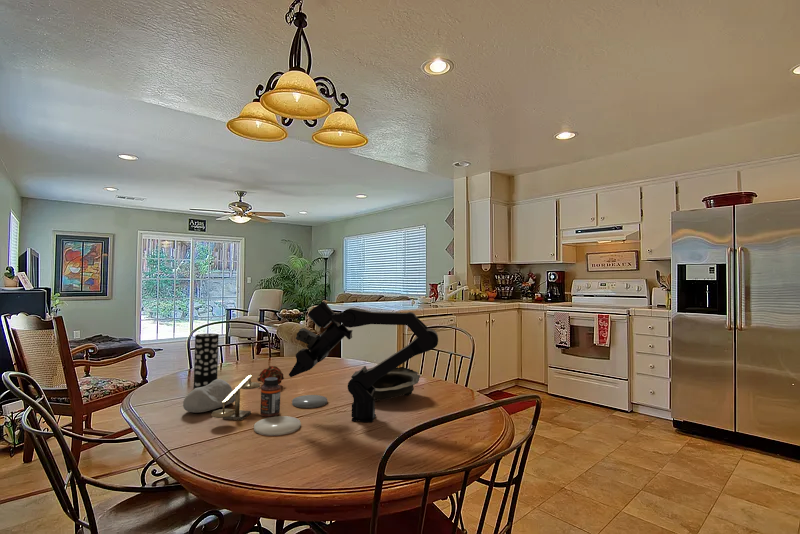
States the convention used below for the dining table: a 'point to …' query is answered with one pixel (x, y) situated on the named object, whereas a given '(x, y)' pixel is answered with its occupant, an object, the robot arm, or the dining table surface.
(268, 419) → the cream dish
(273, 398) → the supplement bottle
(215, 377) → the white-spotted black cylinder
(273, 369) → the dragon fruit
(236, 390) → the balance
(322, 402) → the slate dish
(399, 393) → the stone bowl
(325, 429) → the dining table surface
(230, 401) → the decorative stone
